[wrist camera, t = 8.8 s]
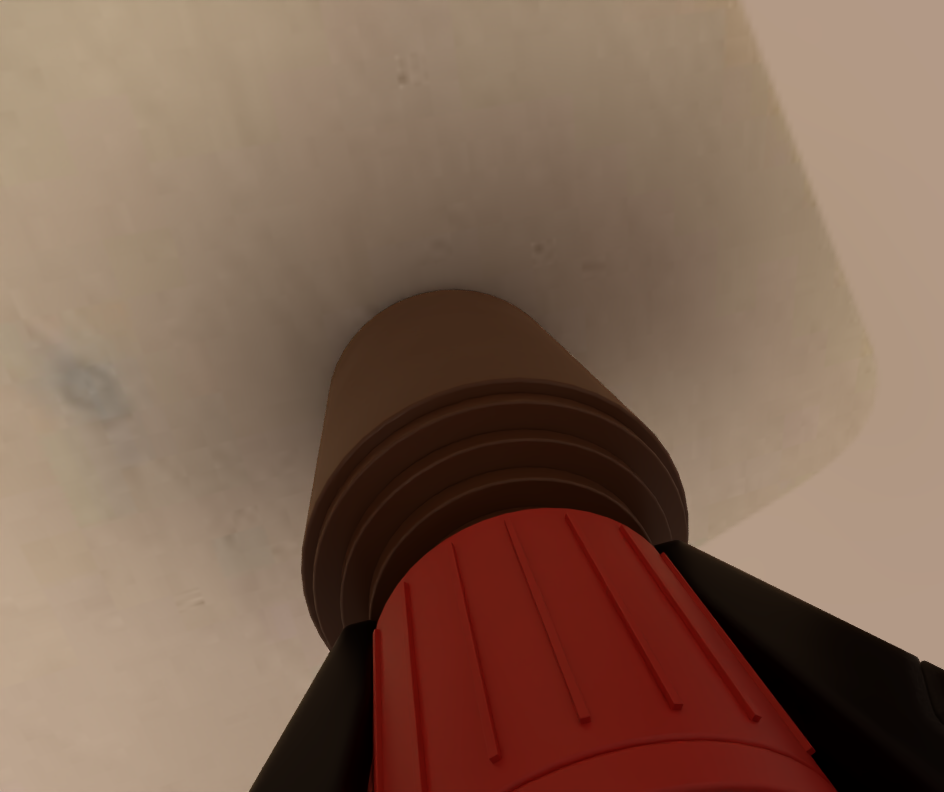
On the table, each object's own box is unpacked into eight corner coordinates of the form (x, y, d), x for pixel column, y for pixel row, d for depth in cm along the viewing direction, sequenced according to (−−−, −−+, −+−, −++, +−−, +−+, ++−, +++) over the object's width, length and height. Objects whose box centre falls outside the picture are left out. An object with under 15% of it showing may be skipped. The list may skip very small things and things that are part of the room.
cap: (668, 465, 8) (914, 709, 4) (690, 717, 9) (882, 1045, 6) (329, 551, 8) (294, 892, 4) (411, 797, 9) (438, 1194, 6)
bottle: (582, 481, 18) (925, 991, 7) (365, 539, 18) (360, 1181, 6) (547, 263, 16) (983, 503, 5) (295, 322, 15) (101, 751, 4)
